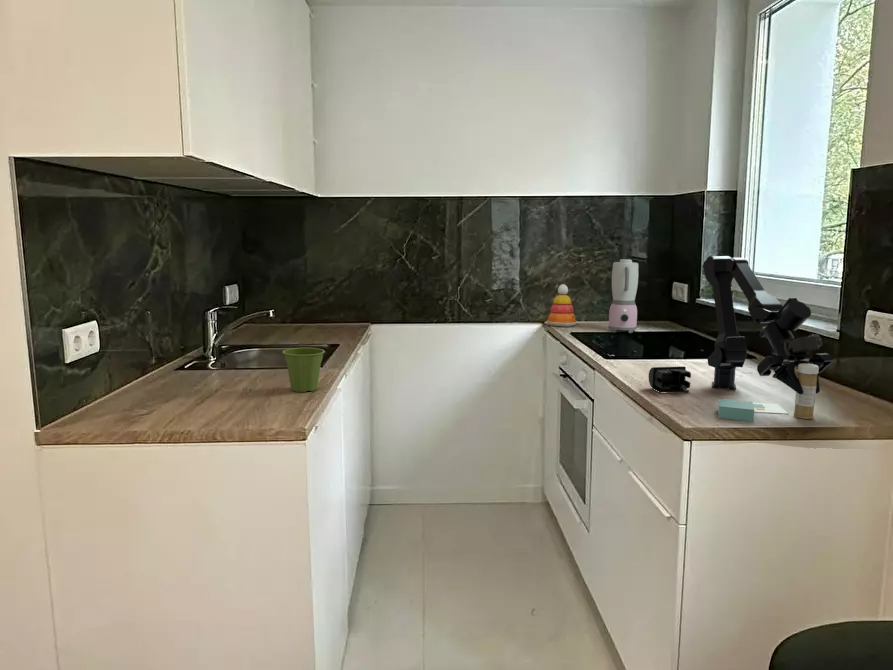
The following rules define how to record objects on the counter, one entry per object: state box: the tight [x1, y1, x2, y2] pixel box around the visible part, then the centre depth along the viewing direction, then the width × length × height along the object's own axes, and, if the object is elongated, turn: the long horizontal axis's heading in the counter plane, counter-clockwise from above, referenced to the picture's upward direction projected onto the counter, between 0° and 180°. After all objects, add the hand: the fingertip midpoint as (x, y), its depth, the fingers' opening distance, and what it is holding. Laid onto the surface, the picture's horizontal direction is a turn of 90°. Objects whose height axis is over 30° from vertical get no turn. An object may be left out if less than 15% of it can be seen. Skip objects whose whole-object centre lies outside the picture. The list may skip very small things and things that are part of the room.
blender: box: [608, 258, 639, 334], centre depth 302 cm, size 16×12×32 cm
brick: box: [717, 398, 755, 422], centre depth 171 cm, size 8×8×3 cm
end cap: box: [648, 366, 692, 393], centre depth 197 cm, size 10×7×7 cm
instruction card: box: [753, 402, 789, 415], centre depth 178 cm, size 9×12×1 cm
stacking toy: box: [546, 283, 578, 328], centre depth 319 cm, size 14×14×20 cm
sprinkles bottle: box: [793, 364, 819, 420], centre depth 169 cm, size 5×5×14 cm
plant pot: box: [282, 347, 326, 393], centre depth 193 cm, size 12×12×11 cm
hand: (810, 393), depth 168 cm, fingers closed on sprinkles bottle, 4 cm apart
